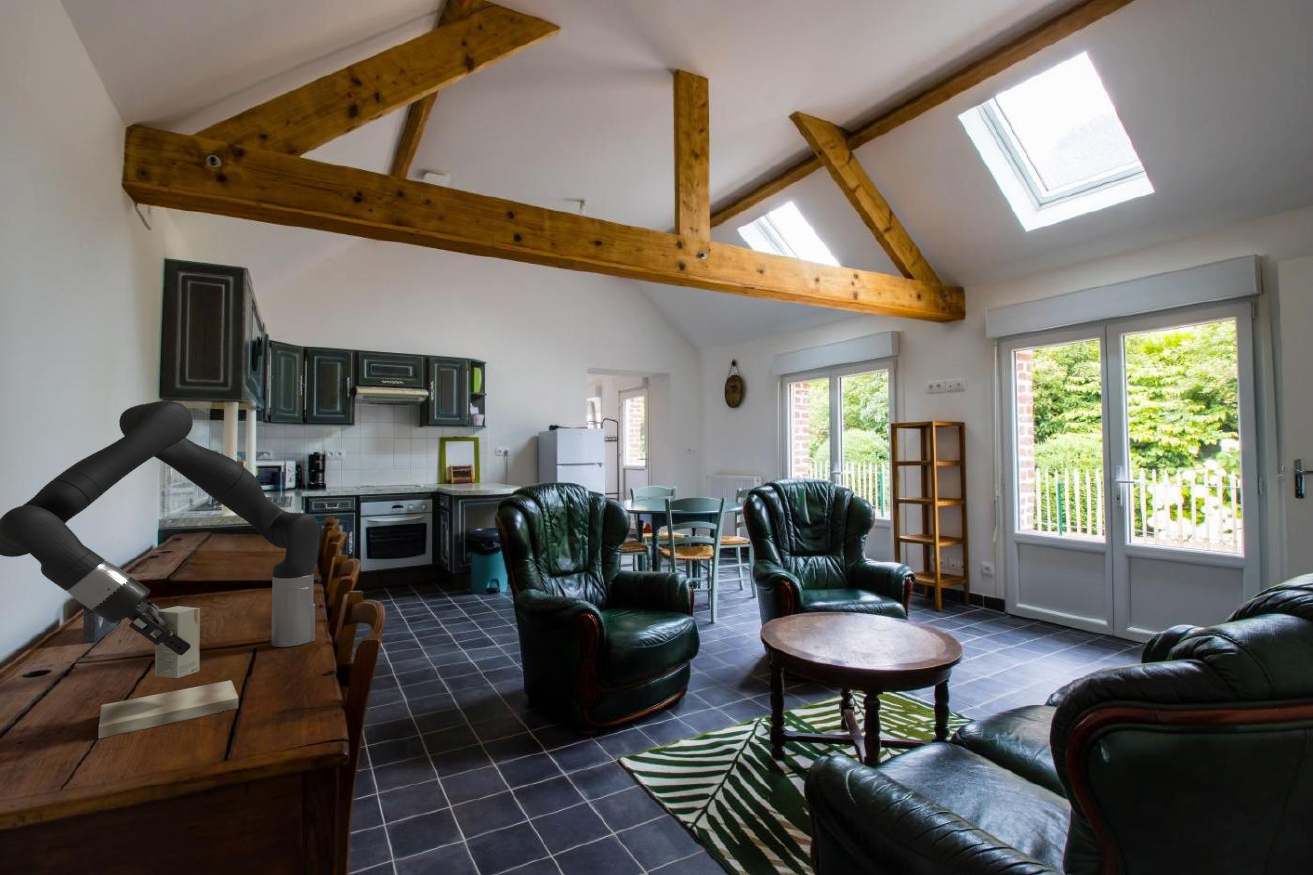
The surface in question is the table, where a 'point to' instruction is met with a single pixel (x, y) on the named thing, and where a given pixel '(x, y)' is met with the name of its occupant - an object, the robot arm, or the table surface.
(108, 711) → the birch board
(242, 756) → the table surface
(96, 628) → the vhs cassette tape
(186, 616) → the skincare box
